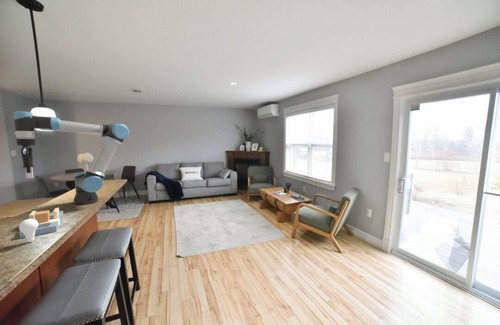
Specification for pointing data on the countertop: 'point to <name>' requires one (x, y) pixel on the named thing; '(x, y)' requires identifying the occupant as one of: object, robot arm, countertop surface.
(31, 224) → the lightbulb
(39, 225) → the pad
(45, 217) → the block
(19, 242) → the countertop surface
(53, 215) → the tunnel deck
